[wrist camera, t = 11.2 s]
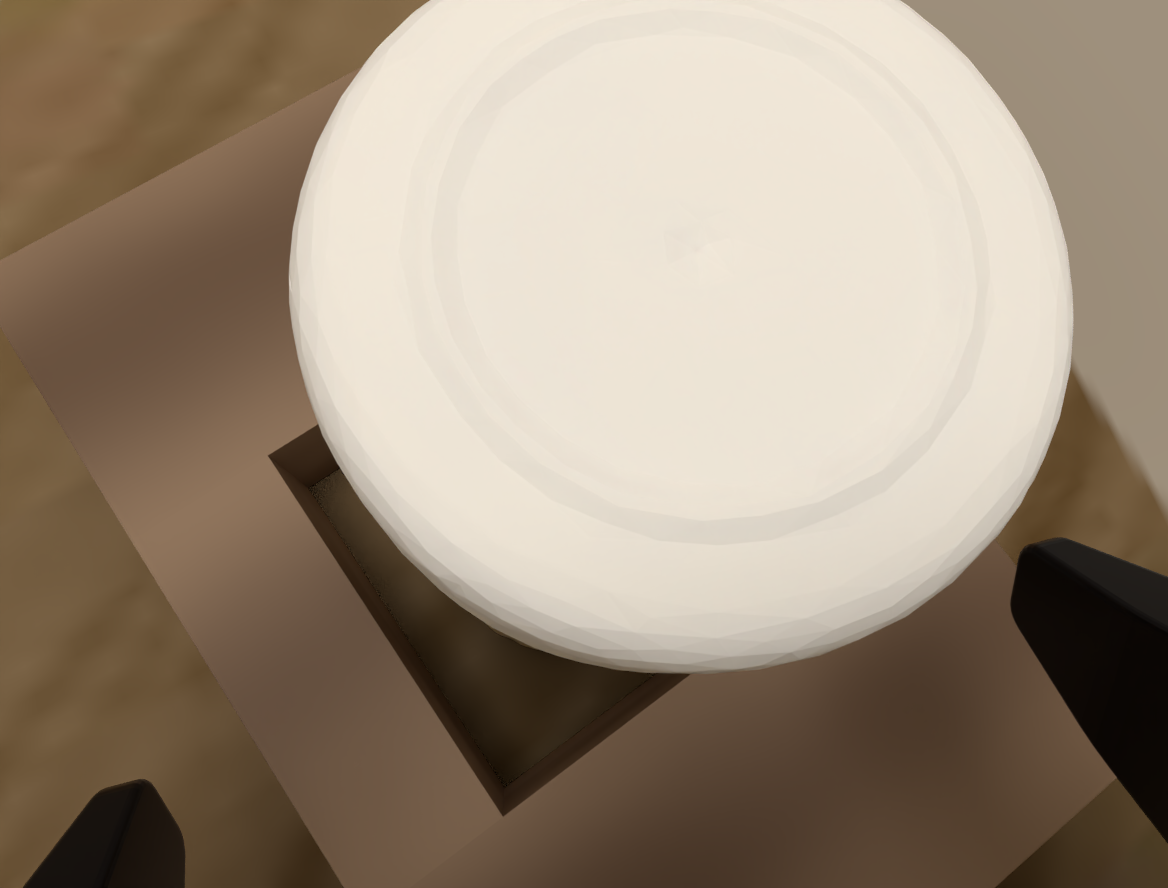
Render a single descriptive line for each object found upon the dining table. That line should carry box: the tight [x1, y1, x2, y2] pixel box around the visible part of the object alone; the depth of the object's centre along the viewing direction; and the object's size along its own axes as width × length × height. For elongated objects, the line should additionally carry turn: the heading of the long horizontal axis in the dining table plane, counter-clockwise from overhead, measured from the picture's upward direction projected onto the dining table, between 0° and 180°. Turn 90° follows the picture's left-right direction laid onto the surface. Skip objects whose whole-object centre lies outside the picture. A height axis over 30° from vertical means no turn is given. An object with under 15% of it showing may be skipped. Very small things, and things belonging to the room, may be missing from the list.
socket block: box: [0, 66, 1117, 888], centre depth 16 cm, size 18×12×3 cm, turn 35°
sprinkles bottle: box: [289, 0, 1073, 674], centre depth 11 cm, size 5×5×13 cm
